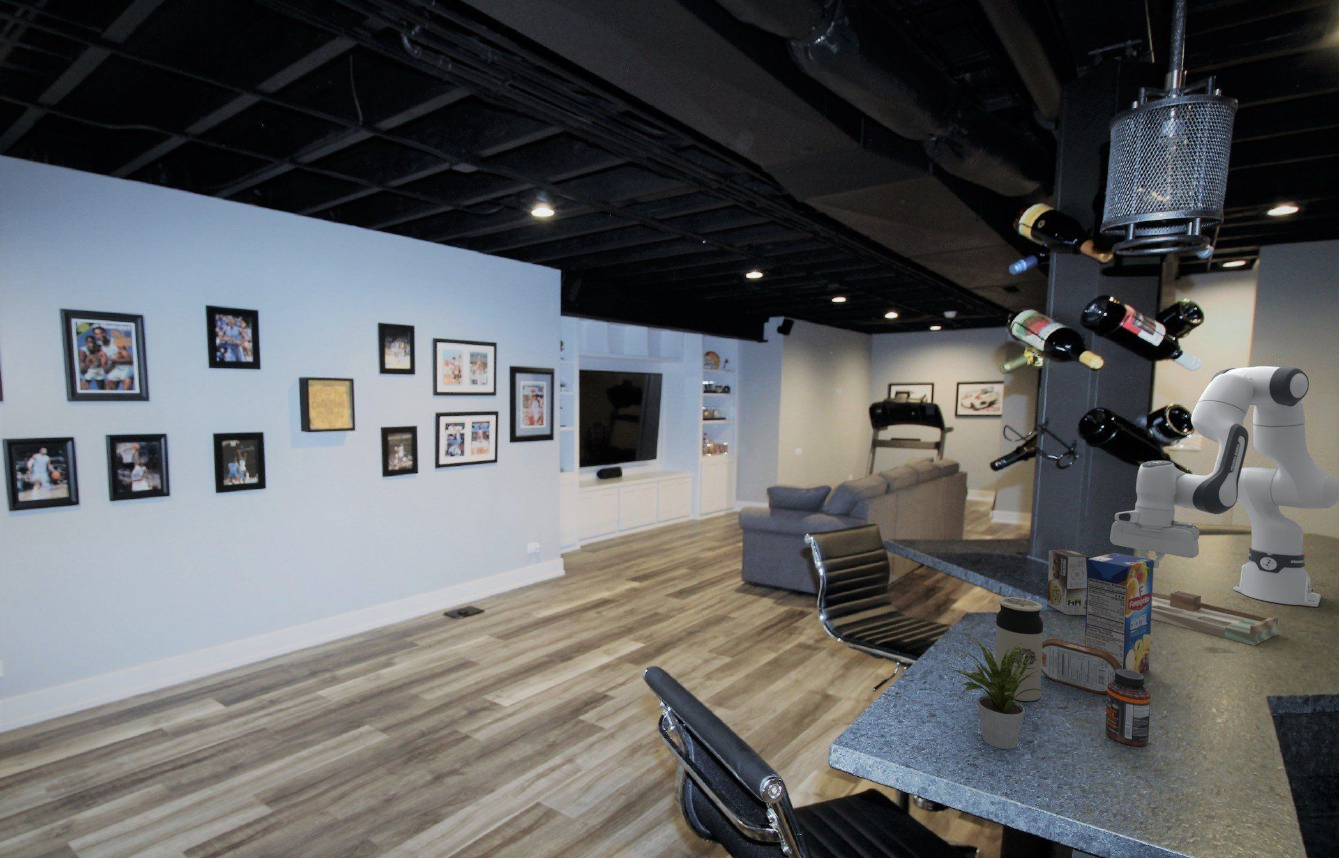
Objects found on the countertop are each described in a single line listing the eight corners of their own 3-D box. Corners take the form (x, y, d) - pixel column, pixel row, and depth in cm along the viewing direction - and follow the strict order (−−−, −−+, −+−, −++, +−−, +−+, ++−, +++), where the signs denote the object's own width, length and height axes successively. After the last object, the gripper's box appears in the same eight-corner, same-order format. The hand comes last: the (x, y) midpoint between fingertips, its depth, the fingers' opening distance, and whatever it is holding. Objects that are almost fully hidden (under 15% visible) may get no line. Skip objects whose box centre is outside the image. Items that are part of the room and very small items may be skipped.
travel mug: (994, 680, 128) (997, 594, 127) (1038, 689, 124) (1042, 600, 124) (993, 696, 121) (997, 605, 120) (1041, 706, 117) (1045, 611, 117)
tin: (1123, 696, 122) (1125, 653, 122) (1120, 701, 120) (1121, 658, 119) (1037, 671, 133) (1038, 632, 132) (1032, 676, 131) (1034, 636, 130)
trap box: (1143, 602, 182) (1144, 586, 182) (1277, 634, 157) (1278, 616, 157) (1117, 609, 174) (1118, 594, 174) (1253, 645, 149) (1254, 626, 149)
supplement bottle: (1097, 727, 110) (1100, 664, 109) (1133, 730, 109) (1136, 666, 109) (1118, 746, 104) (1121, 679, 103) (1157, 748, 103) (1160, 681, 103)
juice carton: (1110, 657, 141) (1114, 552, 140) (1149, 670, 134) (1154, 559, 133) (1083, 669, 134) (1087, 558, 133) (1122, 682, 128) (1127, 566, 127)
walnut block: (1178, 603, 173) (1178, 590, 173) (1200, 608, 169) (1201, 595, 169) (1169, 606, 171) (1170, 593, 171) (1192, 611, 166) (1192, 598, 166)
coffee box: (1089, 615, 170) (1092, 556, 169) (1065, 614, 170) (1067, 556, 169) (1068, 604, 179) (1071, 548, 178) (1046, 604, 179) (1048, 548, 178)
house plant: (969, 708, 116) (972, 621, 116) (1054, 736, 107) (1058, 642, 106) (940, 736, 106) (943, 642, 105) (1032, 770, 96) (1036, 666, 96)
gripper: (1204, 523, 168) (1201, 574, 169) (1119, 511, 186) (1116, 557, 186) (1194, 525, 165) (1191, 577, 166) (1108, 513, 183) (1106, 559, 183)
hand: (1151, 566), depth 176 cm, fingers closed
